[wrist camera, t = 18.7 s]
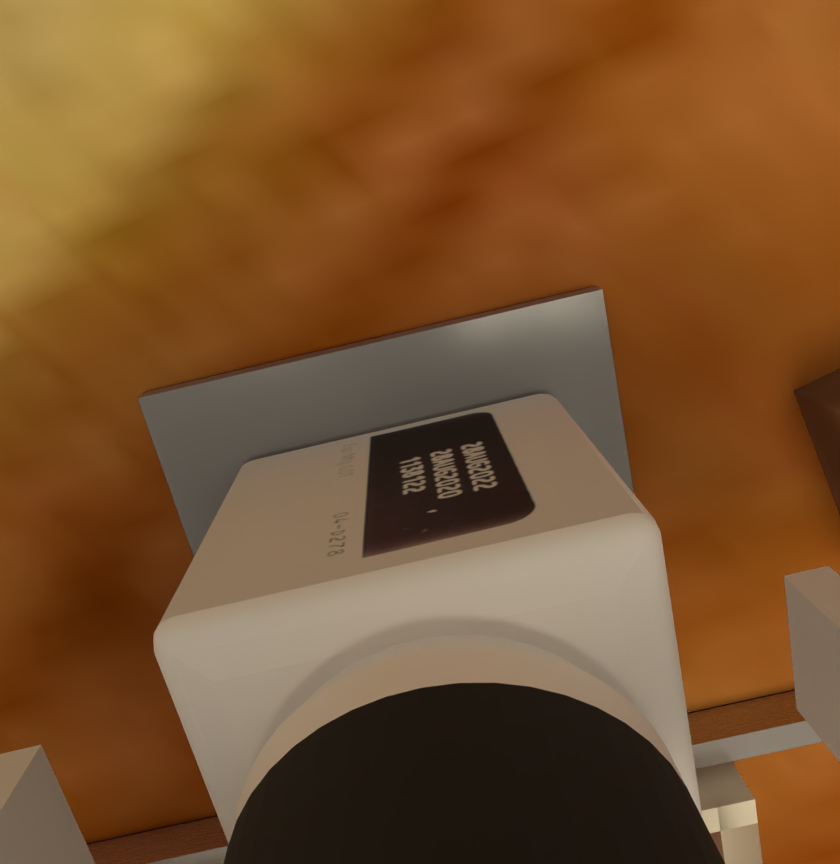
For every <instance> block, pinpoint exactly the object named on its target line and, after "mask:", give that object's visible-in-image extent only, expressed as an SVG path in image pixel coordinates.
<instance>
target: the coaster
mask: <svg viewBox="0 0 840 864" xmlns="http://www.w3.org/2000/svg"><path fill="white" fill-rule="evenodd" d="M535 394H550V395H551V396H553V397H555V398H556V399H557V400H558V401H559V403H560V404H561V405H562V406H563V407H564V409H565V410H566V411H567V412H568V414H569V415H570V416H571V417H572V419H573V420H574V421H575V422H576V423H577V425H578V426H579V427H580V428H581V430H582V431H583V432H584V433H585V435H586V436H587V437H588V438H589V439H590V441H591V442H592V443H593V444H594V446H595V447H596V448H597V449H598V451H599V452H600V453H601V454H602V455H603V457H604V458H605V459H606V460H607V462H608V463H609V464H610V465H611V467H612V468H613V469H614V470H615V471H616V473H617V474H618V475H619V476H620V478H621V479H622V480H623V481H624V483H625V484H626V485H627V486H628V487H629V489H630V490H631V491H632V492H633V494H634V491H633V484H632V478H631V471H630V465H629V458H628V452H627V445H626V439H625V432H624V426H623V419H622V413H621V407H620V400H619V394H618V387H617V381H616V374H615V368H614V361H613V355H612V348H611V342H610V335H609V329H608V322H607V316H606V310H605V303H604V297H603V290H602V289H601V288H599V287H596V286H594V287H590V288H586V289H581V290H577V291H573V292H569V293H564V294H560V295H556V296H552V297H547V298H543V299H539V300H534V301H530V302H526V303H522V304H517V305H513V306H509V307H505V308H500V309H496V310H492V311H488V312H483V313H479V314H475V315H471V316H466V317H462V318H458V319H454V320H449V321H445V322H441V323H437V324H432V325H428V326H424V327H420V328H415V329H411V330H407V331H402V332H398V333H394V334H390V335H385V336H381V337H377V338H373V339H368V340H364V341H360V342H356V343H351V344H347V345H343V346H339V347H334V348H330V349H326V350H322V351H317V352H313V353H309V354H305V355H300V356H296V357H292V358H288V359H283V360H279V361H275V362H271V363H266V364H262V365H258V366H253V367H249V368H245V369H241V370H236V371H232V372H228V373H224V374H219V375H215V376H211V377H207V378H202V379H198V380H194V381H190V382H185V383H181V384H177V385H173V386H168V387H164V388H160V389H156V390H151V391H147V392H145V393H143V394H142V395H141V396H140V397H139V398H138V401H139V404H140V406H141V409H142V412H143V415H144V418H145V421H146V423H147V426H148V429H149V432H150V435H151V437H152V440H153V443H154V446H155V449H156V452H157V454H158V457H159V460H160V463H161V466H162V469H163V471H164V474H165V477H166V480H167V483H168V485H169V488H170V491H171V494H172V497H173V500H174V502H175V505H176V508H177V511H178V514H179V517H180V519H181V522H182V525H183V528H184V531H185V534H186V536H187V539H188V542H189V545H190V548H191V550H192V553H193V556H195V554H196V552H197V550H198V548H199V546H200V544H201V543H202V541H203V539H204V537H205V535H206V533H207V531H208V529H209V527H210V525H211V524H212V522H213V520H214V518H215V516H216V514H217V512H218V510H219V508H220V506H221V505H222V503H223V501H224V499H225V497H226V495H227V493H228V491H229V489H230V487H231V486H232V484H233V482H234V480H235V478H236V476H237V474H238V472H239V471H240V469H241V467H242V466H243V465H244V464H246V463H248V462H249V461H252V460H256V459H260V458H264V457H269V456H273V455H277V454H281V453H286V452H290V451H294V450H299V449H303V448H307V447H312V446H316V445H320V444H324V443H329V442H333V441H337V440H342V439H346V438H350V437H355V436H359V435H363V434H367V433H372V432H376V431H380V430H385V429H389V428H393V427H398V426H402V425H406V424H411V423H415V422H419V421H423V420H428V419H432V418H436V417H441V416H445V415H449V414H454V413H458V412H462V411H466V410H471V409H475V408H479V407H484V406H488V405H492V404H497V403H501V402H505V401H509V400H514V399H518V398H522V397H527V396H531V395H535Z"/></svg>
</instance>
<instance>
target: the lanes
mask: <svg viewBox="0 0 840 864" xmlns="http://www.w3.org/2000/svg"><path fill="white" fill-rule="evenodd" d="M687 715H688V722H689V729H690V736H691V743H692V749H693V756H694V763H695V769H698V768H703V767H707V766H712V765H717V764H721V763H726V762H730V761H735V760H740V759H744V758H749V757H754V756H758V755H763V754H767V753H772V752H777V751H781V750H786V749H791V748H795V747H800V746H805V745H809V744H814V743H818V742H823V741H822V740H821V738H820V737H819V736H818V735H817V734H816V732H815V731H814V730H813V729H812V727H811V726H810V725H809V724H808V722H807V721H806V720H805V719H804V717H803V716H802V715H801V714H800V713H799V711H798V710H797V707H796V697H795V691H790V692H786V693H781V694H777V695H772V696H767V697H763V698H758V699H754V700H749V701H744V702H740V703H735V704H731V705H726V706H721V707H717V708H712V709H708V710H703V711H699V712H694V713H689V714H687ZM87 846H88V848H89V851H90V853H91V855H92V857H93V859H94V862H95V864H224V860H225V856H226V851H227V847H228V841H227V839H226V836H225V834H224V831H223V828H222V826H221V823H220V821H219V818H218V816H217V817H212V818H208V819H203V820H198V821H194V822H189V823H185V824H180V825H175V826H171V827H166V828H162V829H157V830H153V831H148V832H143V833H139V834H134V835H130V836H125V837H120V838H116V839H111V840H107V841H102V842H97V843H93V844H88V845H87Z"/></svg>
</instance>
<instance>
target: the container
mask: <svg viewBox="0 0 840 864" xmlns="http://www.w3.org/2000/svg"><path fill="white" fill-rule="evenodd" d="M153 644H154V654H155V656H156V659H157V661H158V664H159V666H160V669H161V672H162V674H163V677H164V679H165V682H166V684H167V687H168V690H169V692H170V695H171V697H172V700H173V702H174V705H175V708H176V710H177V713H178V715H179V718H180V720H181V723H182V726H183V728H184V731H185V733H186V736H187V738H188V741H189V744H190V746H191V749H192V751H193V754H194V756H195V759H196V762H197V764H198V767H199V769H200V772H201V774H202V777H203V780H204V782H205V785H206V787H207V790H208V792H209V795H210V798H211V800H212V803H213V805H214V808H215V810H216V813H217V816H218V818H219V821H220V823H221V826H222V828H223V831H224V834H225V836H226V839H227V841H228V847H227V851H226V856H225V860H224V864H725V862H724V860H723V858H722V856H721V854H720V852H719V850H718V848H717V846H716V844H715V842H714V840H713V838H712V836H711V834H710V832H709V830H708V828H707V826H706V825H705V823H704V821H703V817H702V811H701V804H700V797H699V790H698V783H697V777H696V770H695V763H694V756H693V749H692V743H691V736H690V729H689V722H688V715H687V709H686V702H685V695H684V688H683V681H682V675H681V668H680V661H679V654H678V647H677V641H676V634H675V627H674V620H673V613H672V607H671V600H670V593H669V586H668V579H667V573H666V566H665V559H664V552H663V545H662V539H661V532H660V530H659V527H658V525H657V523H656V521H655V519H654V518H653V517H652V516H651V515H650V513H649V512H648V511H647V510H646V508H645V507H644V506H643V505H642V503H641V502H640V501H639V500H638V499H637V497H636V496H635V495H634V494H633V492H632V491H631V490H630V489H629V487H628V486H627V485H626V484H625V483H624V481H623V480H622V479H621V478H620V476H619V475H618V474H617V473H616V471H615V470H614V469H613V468H612V467H611V465H610V464H609V463H608V462H607V460H606V459H605V458H604V457H603V455H602V454H601V453H600V452H599V451H598V449H597V448H596V447H595V446H594V444H593V443H592V442H591V441H590V439H589V438H588V437H587V436H586V435H585V433H584V432H583V431H582V430H581V428H580V427H579V426H578V425H577V423H576V422H575V421H574V420H573V419H572V417H571V416H570V415H569V414H568V412H567V411H566V410H565V409H564V407H563V406H562V405H561V404H560V403H559V401H558V400H557V399H556V398H555V397H553V396H551V395H550V394H535V395H531V396H527V397H522V398H518V399H514V400H509V401H505V402H501V403H497V404H492V405H488V406H484V407H479V408H475V409H471V410H466V411H462V412H458V413H454V414H449V415H445V416H441V417H436V418H432V419H428V420H423V421H419V422H415V423H411V424H406V425H402V426H398V427H393V428H389V429H385V430H380V431H376V432H372V433H367V434H363V435H359V436H355V437H350V438H346V439H342V440H337V441H333V442H329V443H324V444H320V445H316V446H312V447H307V448H303V449H299V450H294V451H290V452H286V453H281V454H277V455H273V456H269V457H264V458H260V459H256V460H252V461H249V462H248V463H246V464H244V465H243V466H242V467H241V469H240V471H239V472H238V474H237V476H236V478H235V480H234V482H233V484H232V486H231V487H230V489H229V491H228V493H227V495H226V497H225V499H224V501H223V503H222V505H221V506H220V508H219V510H218V512H217V514H216V516H215V518H214V520H213V522H212V524H211V525H210V527H209V529H208V531H207V533H206V535H205V537H204V539H203V541H202V543H201V544H200V546H199V548H198V550H197V552H196V554H195V556H194V558H193V560H192V562H191V563H190V565H189V567H188V569H187V571H186V573H185V575H184V577H183V579H182V581H181V582H180V584H179V586H178V588H177V590H176V592H175V594H174V596H173V598H172V600H171V601H170V603H169V605H168V607H167V609H166V611H165V613H164V615H163V617H162V619H161V620H160V622H159V624H158V626H157V628H156V630H155V632H154V637H153Z"/></svg>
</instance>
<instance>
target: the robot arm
mask: <svg viewBox="0 0 840 864" xmlns="http://www.w3.org/2000/svg"><path fill="white" fill-rule="evenodd" d="M784 581H785V591H786V602H787V613H788V623H789V634H790V644H791V655H792V665H793V676H794V686H795V697H796V707H797V710H798V711H799V713H800V714H801V715H802V716H803V717H804V719H805V720H806V721H807V722H808V724H809V725H810V726H811V727H812V729H813V730H814V731H815V732H816V734H817V735H818V736H819V737H820V738H821V740H822V741H823V742H824V743H825V745H826V746H827V747H828V748H829V750H830V751H831V752H832V753H833V755H834V756H835V757H836V758H837V760H838V761H839V762H840V575H839V574H838V573H836V572H835V571H834V570H833V569H832V568H830V567H829V566H825V567H821V568H816V569H812V570H808V571H803V572H799V573H794V574H790V575H786V576H784ZM0 864H95V862H94V859H93V857H92V855H91V853H90V851H89V848H88V846H87V844H86V842H85V840H84V837H83V835H82V833H81V831H80V829H79V827H78V824H77V822H76V820H75V818H74V816H73V813H72V811H71V809H70V807H69V805H68V802H67V800H66V798H65V796H64V794H63V791H62V789H61V787H60V785H59V783H58V780H57V778H56V776H55V774H54V772H53V770H52V767H51V765H50V763H49V761H48V759H47V756H46V754H45V752H44V750H43V748H42V745H38V746H33V747H29V748H24V749H20V750H16V751H11V752H7V753H2V754H0Z"/></svg>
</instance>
